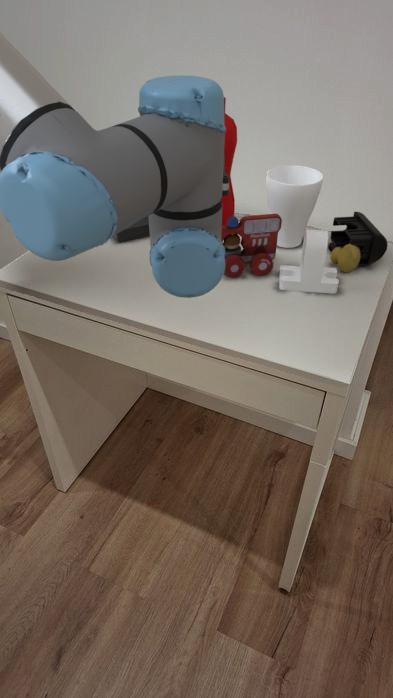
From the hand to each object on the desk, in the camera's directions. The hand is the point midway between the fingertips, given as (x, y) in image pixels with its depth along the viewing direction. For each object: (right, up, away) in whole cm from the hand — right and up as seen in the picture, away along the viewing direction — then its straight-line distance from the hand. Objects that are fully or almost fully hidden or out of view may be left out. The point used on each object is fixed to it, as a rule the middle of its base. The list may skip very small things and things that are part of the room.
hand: (173, 147), depth 76 cm
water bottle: (+7, -4, +29) cm, 30 cm away
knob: (+31, -17, +13) cm, 38 cm away
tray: (-10, -5, +27) cm, 30 cm away
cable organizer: (+23, -20, +9) cm, 32 cm away
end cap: (+34, -14, +17) cm, 41 cm away
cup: (+22, -10, +22) cm, 32 cm away
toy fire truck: (+12, -17, +14) cm, 25 cm away
